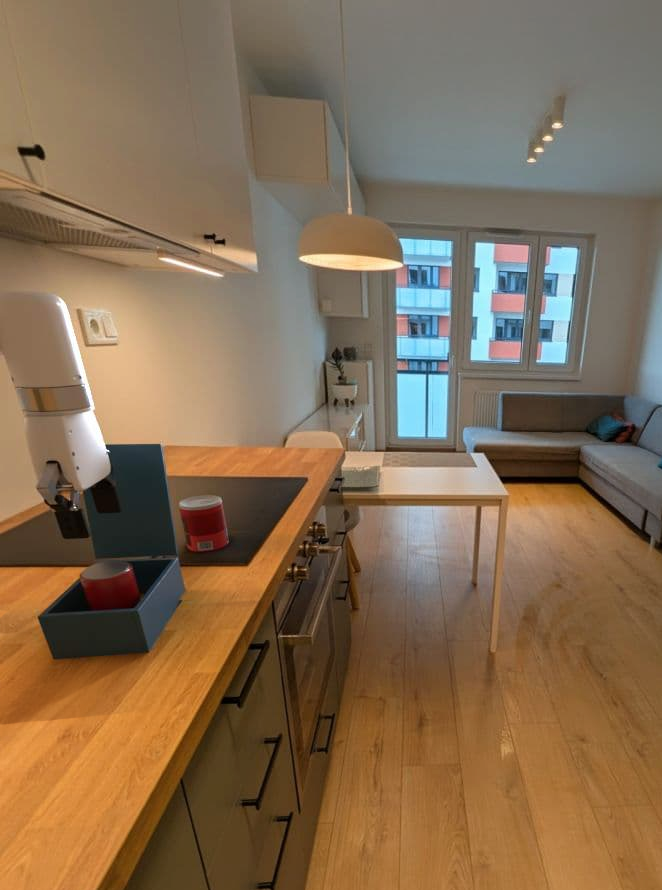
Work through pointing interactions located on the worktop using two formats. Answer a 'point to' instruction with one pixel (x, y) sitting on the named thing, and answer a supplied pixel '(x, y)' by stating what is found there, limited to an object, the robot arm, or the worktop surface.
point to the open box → (115, 615)
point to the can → (110, 586)
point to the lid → (135, 506)
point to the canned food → (204, 523)
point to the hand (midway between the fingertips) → (94, 524)
